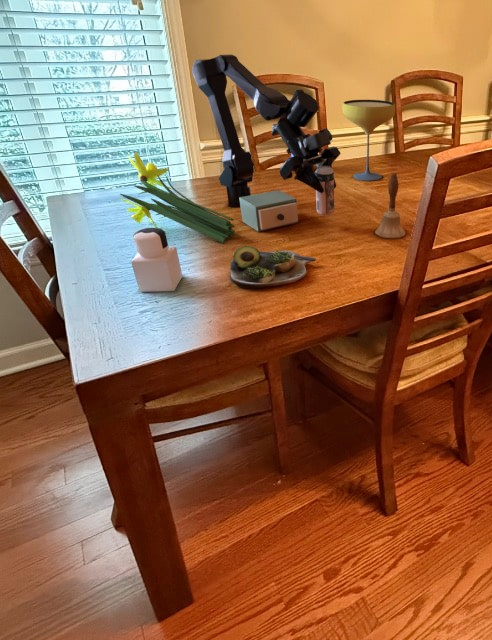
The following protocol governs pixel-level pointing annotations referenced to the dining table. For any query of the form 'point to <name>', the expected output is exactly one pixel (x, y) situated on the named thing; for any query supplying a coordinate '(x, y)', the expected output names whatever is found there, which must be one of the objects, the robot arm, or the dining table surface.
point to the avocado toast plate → (266, 267)
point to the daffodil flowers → (176, 205)
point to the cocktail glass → (368, 123)
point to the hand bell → (391, 214)
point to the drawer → (278, 215)
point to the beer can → (325, 190)
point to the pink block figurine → (155, 261)
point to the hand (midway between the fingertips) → (329, 189)
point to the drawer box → (262, 206)
